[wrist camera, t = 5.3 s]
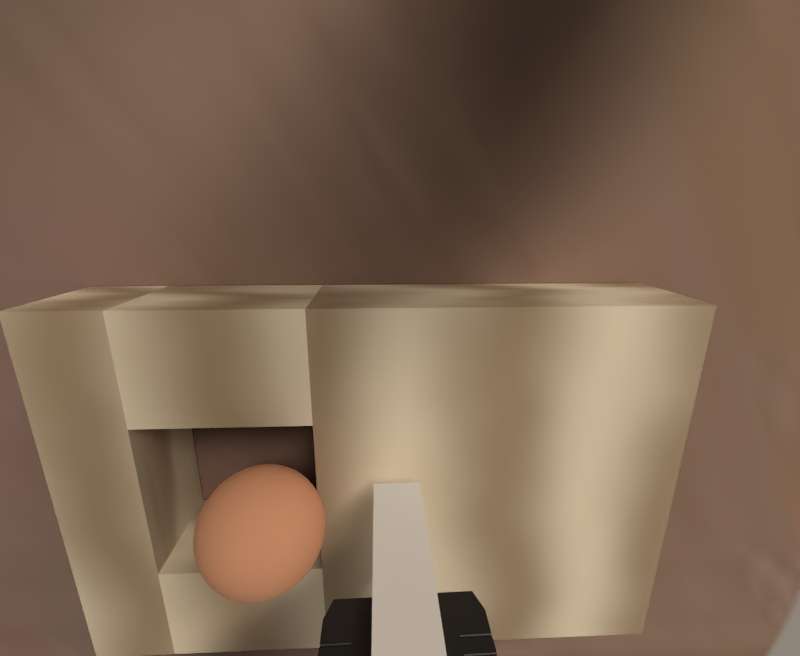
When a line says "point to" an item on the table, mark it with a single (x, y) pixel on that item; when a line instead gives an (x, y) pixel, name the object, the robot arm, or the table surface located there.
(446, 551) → the block
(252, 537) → the ball
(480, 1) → the table surface
